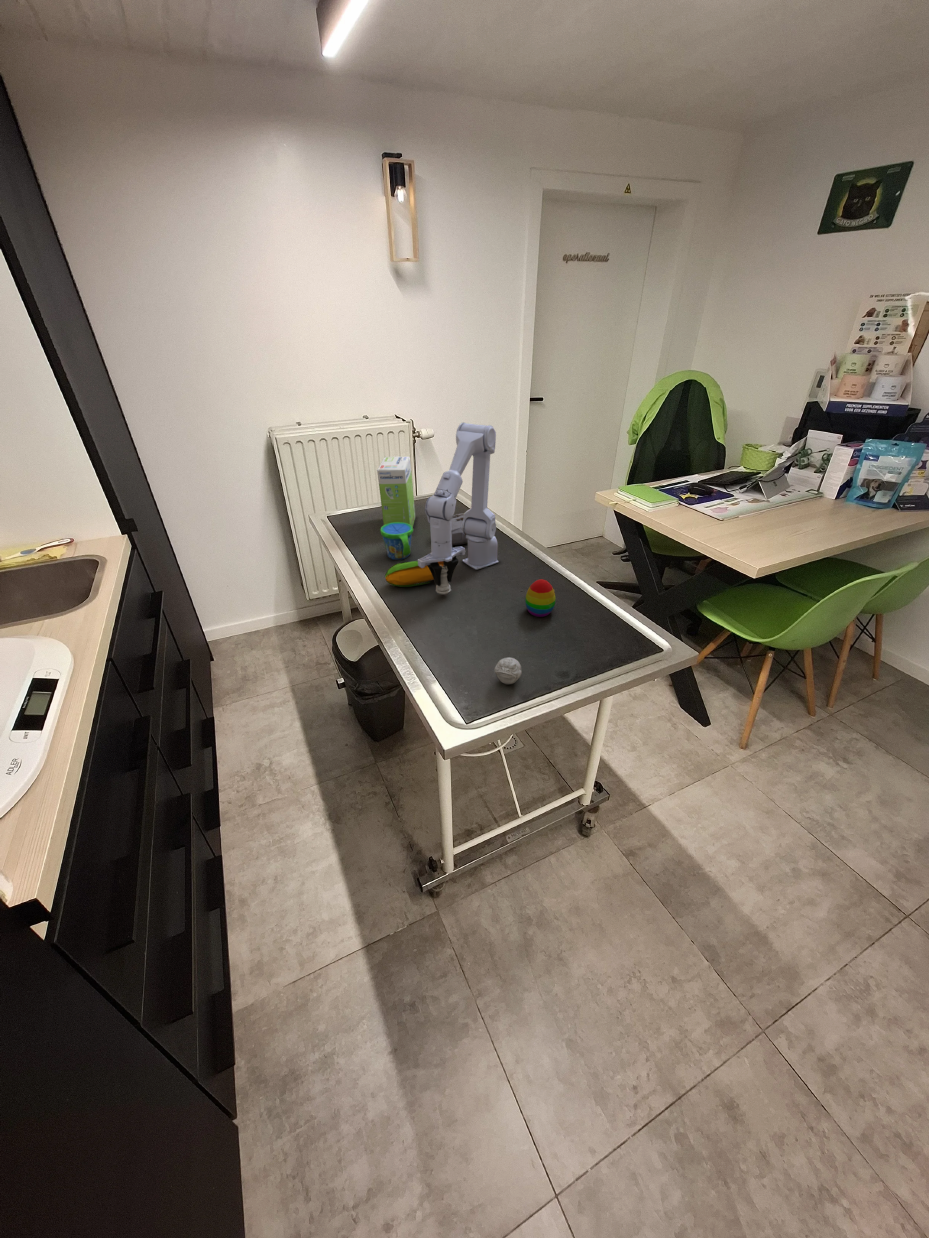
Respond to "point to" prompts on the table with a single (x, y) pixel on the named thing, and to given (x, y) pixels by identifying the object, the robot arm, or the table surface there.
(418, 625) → the table surface
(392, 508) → the toothbrush box
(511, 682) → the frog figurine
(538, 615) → the decorative egg
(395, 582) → the corn
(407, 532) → the snack cup
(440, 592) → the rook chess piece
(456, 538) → the soft grey pack
